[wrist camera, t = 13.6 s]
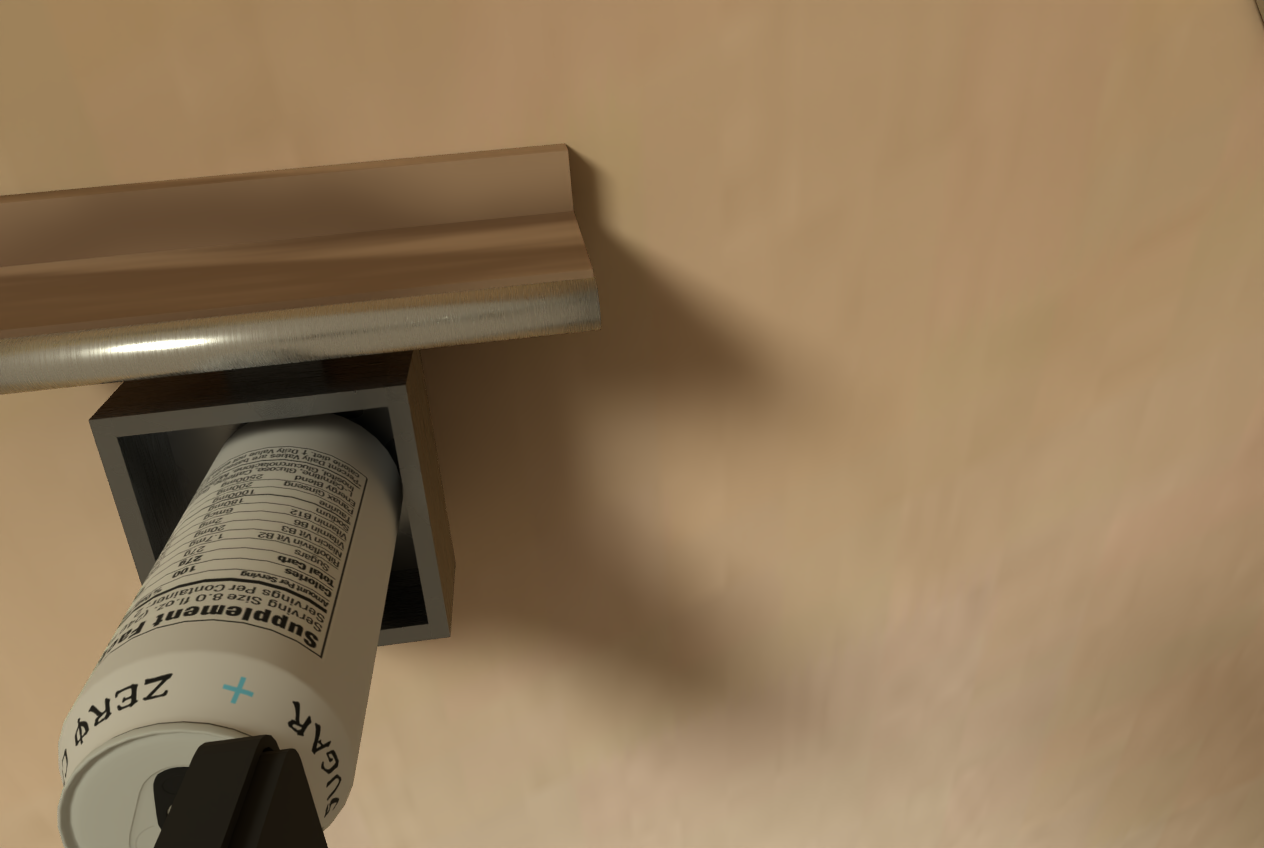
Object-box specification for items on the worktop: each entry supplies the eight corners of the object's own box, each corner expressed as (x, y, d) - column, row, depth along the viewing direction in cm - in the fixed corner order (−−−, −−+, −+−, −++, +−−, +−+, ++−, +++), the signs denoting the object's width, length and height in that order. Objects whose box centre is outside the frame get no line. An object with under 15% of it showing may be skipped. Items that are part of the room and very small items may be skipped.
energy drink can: (222, 555, 34) (42, 938, 21) (212, 391, 32) (1, 703, 18) (403, 560, 35) (345, 930, 22) (407, 401, 33) (344, 704, 19)
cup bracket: (599, 499, 40) (630, 659, 31) (81, 562, 39) (-53, 751, 29) (564, 143, 35) (591, 206, 25) (-45, 200, 33) (-263, 289, 23)
